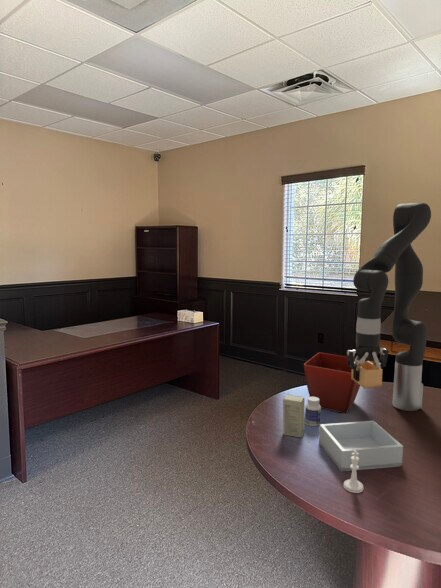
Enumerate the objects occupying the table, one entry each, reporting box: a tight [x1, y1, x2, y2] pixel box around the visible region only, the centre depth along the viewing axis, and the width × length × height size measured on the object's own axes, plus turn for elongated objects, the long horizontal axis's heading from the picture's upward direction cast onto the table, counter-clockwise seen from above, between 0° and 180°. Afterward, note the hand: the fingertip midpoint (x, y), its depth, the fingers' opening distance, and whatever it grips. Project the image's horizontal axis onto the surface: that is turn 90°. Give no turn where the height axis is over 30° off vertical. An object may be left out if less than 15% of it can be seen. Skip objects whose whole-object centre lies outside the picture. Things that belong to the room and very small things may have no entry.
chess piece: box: [343, 451, 364, 494], centre depth 106 cm, size 5×5×10 cm
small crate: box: [351, 361, 383, 389], centre depth 137 cm, size 6×9×6 cm, turn 9°
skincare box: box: [282, 394, 305, 438], centre depth 134 cm, size 6×4×12 cm
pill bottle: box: [304, 396, 322, 427], centre depth 141 cm, size 5×5×9 cm
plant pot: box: [303, 352, 361, 414], centre depth 156 cm, size 19×19×17 cm
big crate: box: [318, 420, 404, 473], centre depth 122 cm, size 18×16×6 cm
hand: (366, 379), depth 137 cm, fingers closed on small crate, 6 cm apart
